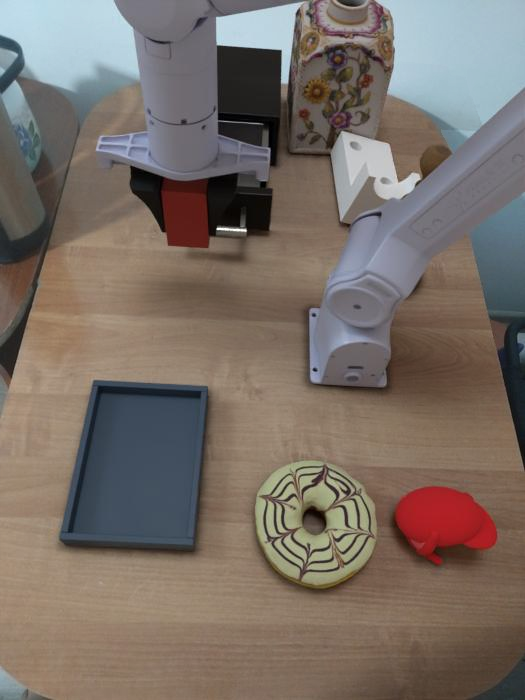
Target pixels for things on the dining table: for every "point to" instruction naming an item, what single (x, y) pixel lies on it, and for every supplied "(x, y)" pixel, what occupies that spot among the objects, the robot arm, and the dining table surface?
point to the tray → (138, 467)
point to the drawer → (246, 184)
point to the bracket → (365, 175)
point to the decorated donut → (340, 514)
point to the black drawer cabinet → (250, 87)
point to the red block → (186, 212)
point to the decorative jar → (338, 72)
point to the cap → (443, 521)
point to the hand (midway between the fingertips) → (190, 226)
